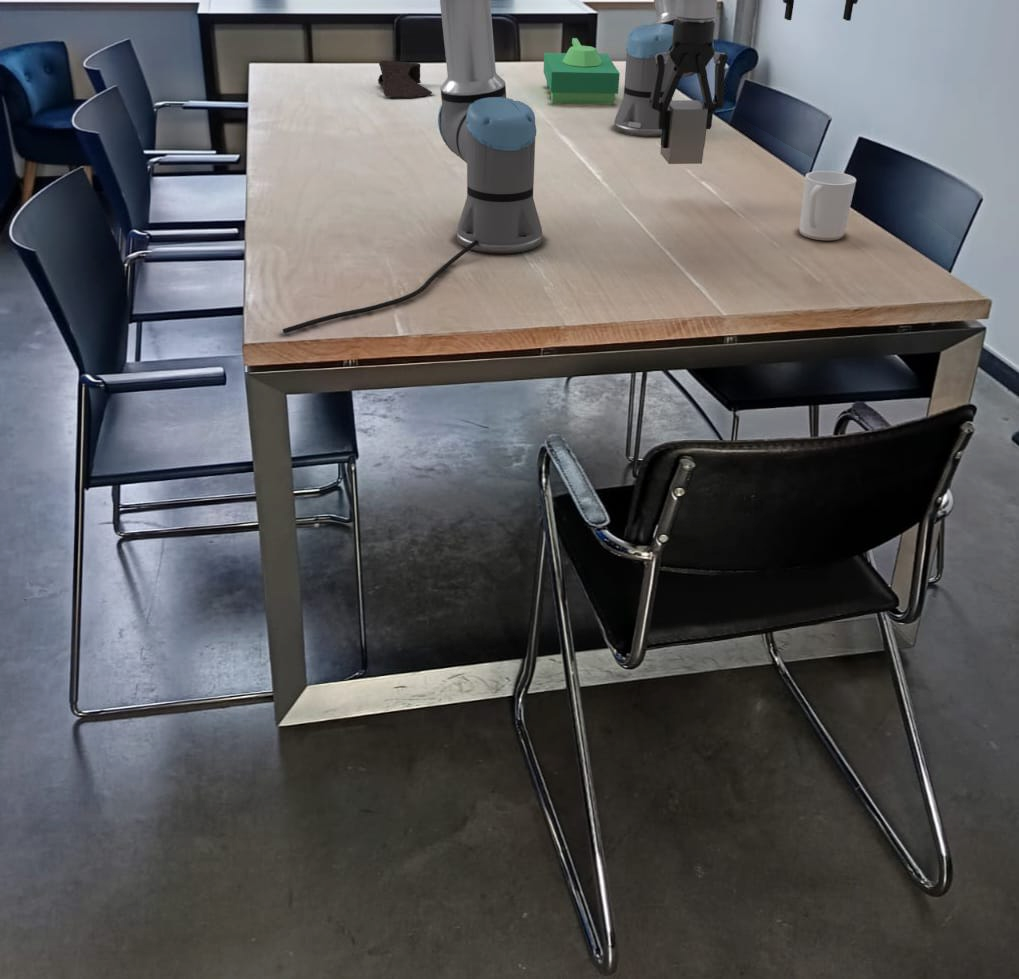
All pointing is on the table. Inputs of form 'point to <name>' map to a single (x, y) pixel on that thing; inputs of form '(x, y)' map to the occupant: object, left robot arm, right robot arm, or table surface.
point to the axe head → (401, 79)
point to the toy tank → (581, 76)
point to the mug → (826, 204)
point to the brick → (686, 132)
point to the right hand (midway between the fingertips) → (817, 19)
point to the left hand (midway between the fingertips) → (682, 146)
